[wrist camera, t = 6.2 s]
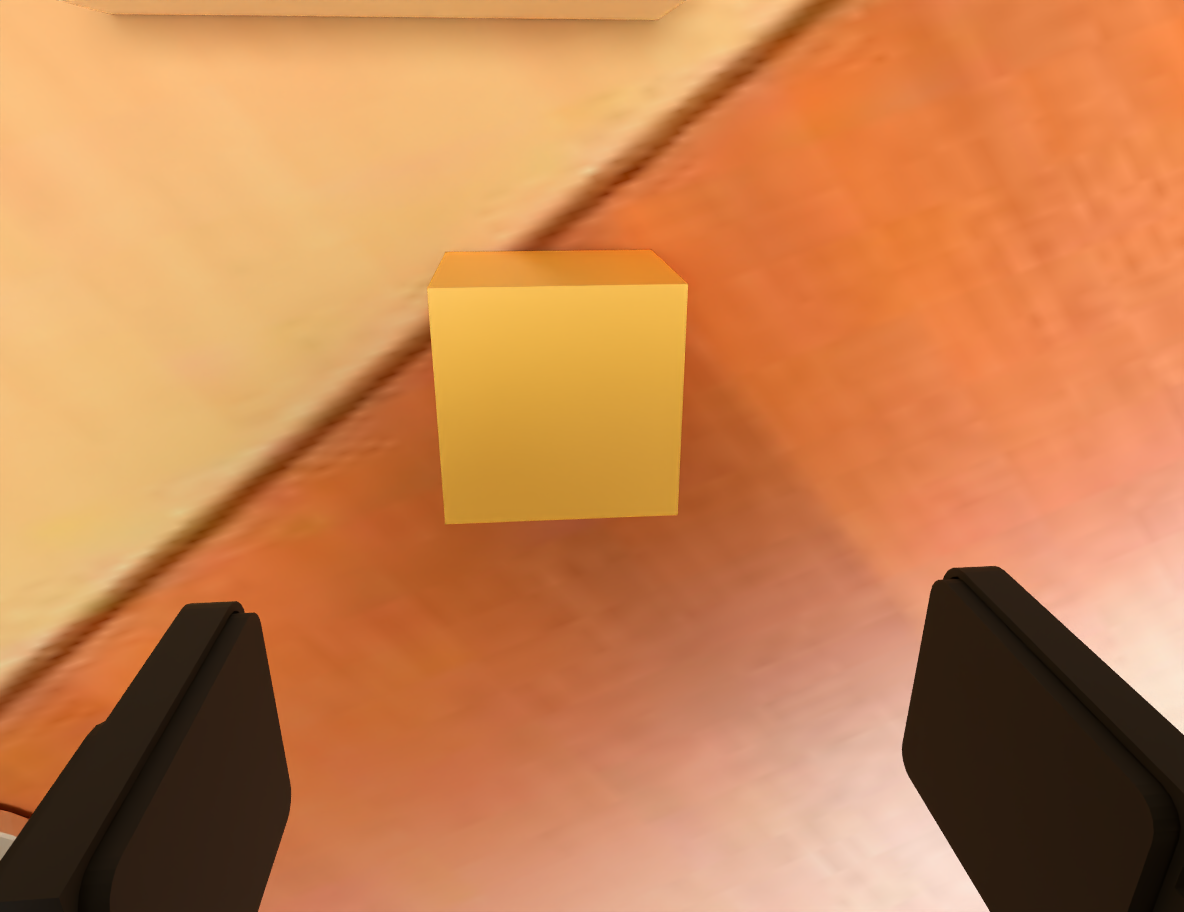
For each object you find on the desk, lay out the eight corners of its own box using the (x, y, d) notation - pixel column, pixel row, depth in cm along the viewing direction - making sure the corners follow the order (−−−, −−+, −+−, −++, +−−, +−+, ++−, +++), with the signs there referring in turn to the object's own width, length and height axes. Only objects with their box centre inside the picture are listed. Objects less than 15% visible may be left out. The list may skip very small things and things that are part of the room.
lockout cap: (645, 438, 26) (677, 514, 21) (458, 444, 26) (445, 524, 21) (651, 249, 24) (688, 283, 19) (445, 251, 23) (427, 288, 18)
